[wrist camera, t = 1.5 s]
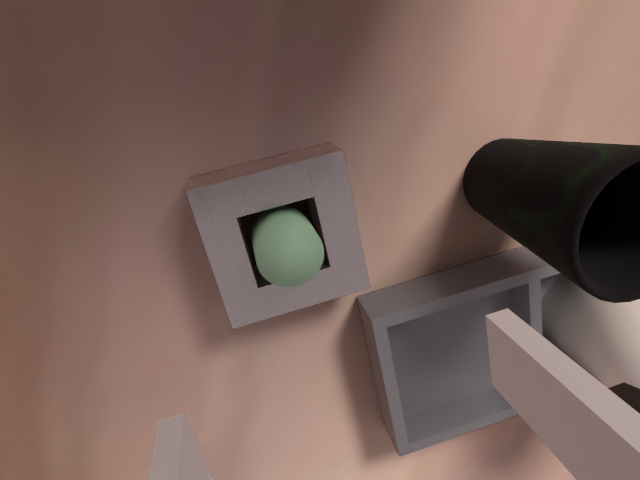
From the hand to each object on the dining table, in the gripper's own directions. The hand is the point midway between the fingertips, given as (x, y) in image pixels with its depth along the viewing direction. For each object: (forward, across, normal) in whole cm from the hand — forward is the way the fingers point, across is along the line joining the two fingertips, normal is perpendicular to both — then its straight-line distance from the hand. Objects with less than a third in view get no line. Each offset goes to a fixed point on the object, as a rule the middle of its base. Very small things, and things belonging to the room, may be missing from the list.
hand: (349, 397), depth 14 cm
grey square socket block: (+18, 0, 0) cm, 18 cm away
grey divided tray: (+18, +16, -13) cm, 27 cm away
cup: (+18, +16, -1) cm, 24 cm away
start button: (+16, 0, 0) cm, 16 cm away
